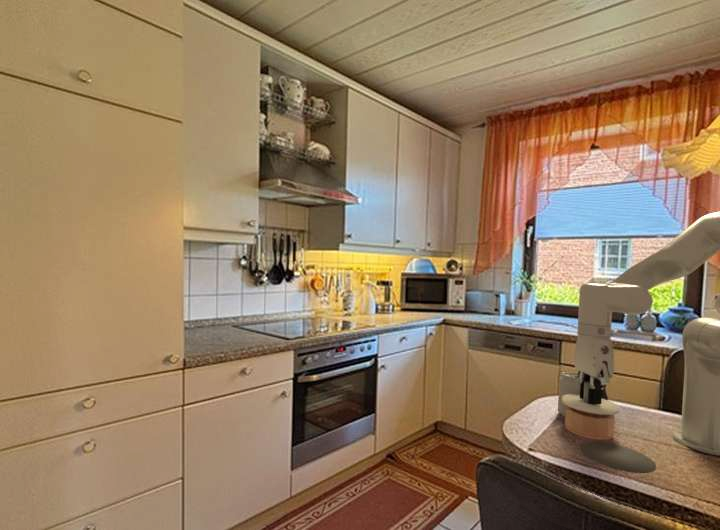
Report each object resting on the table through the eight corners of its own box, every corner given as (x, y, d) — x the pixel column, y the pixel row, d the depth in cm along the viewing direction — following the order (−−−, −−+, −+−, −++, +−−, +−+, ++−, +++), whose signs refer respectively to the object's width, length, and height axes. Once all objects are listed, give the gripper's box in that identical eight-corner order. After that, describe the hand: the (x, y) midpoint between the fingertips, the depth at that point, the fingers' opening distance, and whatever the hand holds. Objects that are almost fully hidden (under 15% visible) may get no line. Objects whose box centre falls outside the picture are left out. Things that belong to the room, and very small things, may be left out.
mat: (625, 444, 99) (625, 442, 99) (673, 475, 85) (673, 473, 85) (568, 442, 99) (568, 440, 99) (606, 473, 84) (606, 471, 84)
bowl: (595, 423, 112) (596, 404, 112) (623, 441, 101) (624, 419, 101) (556, 422, 111) (557, 402, 111) (579, 440, 100) (581, 418, 100)
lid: (598, 397, 113) (599, 376, 113) (631, 415, 100) (632, 392, 100) (552, 396, 112) (553, 375, 112) (579, 414, 99) (580, 390, 99)
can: (590, 422, 113) (593, 379, 113) (561, 419, 114) (564, 376, 114) (581, 412, 120) (584, 372, 120) (554, 409, 122) (556, 369, 121)
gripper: (630, 337, 98) (625, 413, 98) (589, 326, 114) (585, 391, 114) (599, 336, 97) (595, 412, 98) (562, 325, 114) (559, 390, 114)
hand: (590, 400), depth 106 cm, fingers closed on lid, 2 cm apart
